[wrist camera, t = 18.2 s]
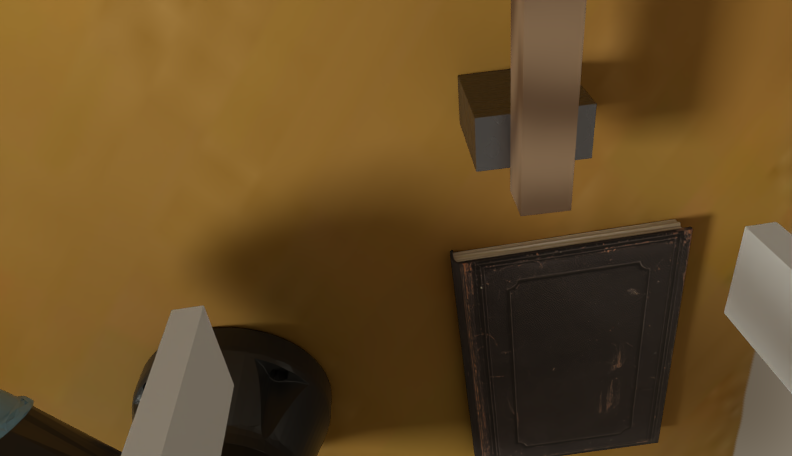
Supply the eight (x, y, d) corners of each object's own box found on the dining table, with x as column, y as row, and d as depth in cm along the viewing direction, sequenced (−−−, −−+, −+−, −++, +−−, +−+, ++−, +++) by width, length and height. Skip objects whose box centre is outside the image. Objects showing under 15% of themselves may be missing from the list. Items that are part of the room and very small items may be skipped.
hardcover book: (677, 210, 41) (693, 229, 39) (647, 421, 54) (658, 442, 52) (448, 245, 42) (452, 265, 40) (472, 445, 55) (476, 467, 53)
